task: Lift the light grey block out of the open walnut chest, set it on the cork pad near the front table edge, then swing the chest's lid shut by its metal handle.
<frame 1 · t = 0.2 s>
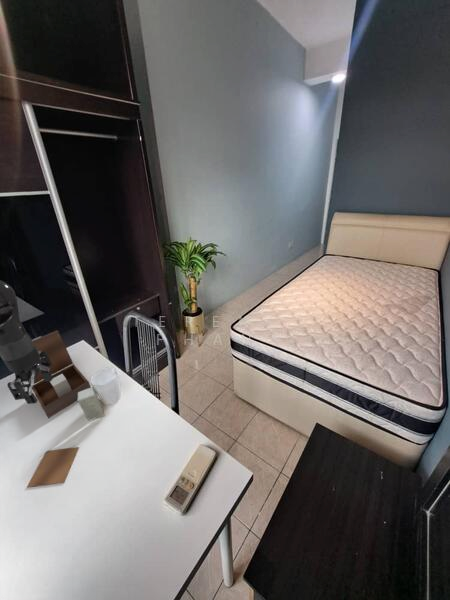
hand: (41, 391, 76), 18 cm above the table, tool pointing down, fingers open, 8 cm apart
lid: (42, 355, 97), point 14 cm above the table, hinge at 95.0°
box: (95, 414, 89), on the table, touching cup
light grey block: (65, 394, 97), point 1 cm above the table, touching chest
cup: (112, 399, 95), on the table, touching box
pad: (55, 466, 74), on the table
chest: (65, 394, 98), on the table
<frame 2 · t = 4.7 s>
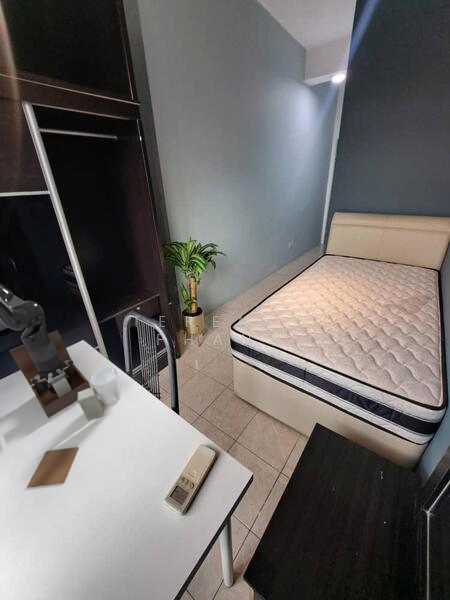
hand: (62, 388, 95), 4 cm above the table, tool pointing down, fingers closed on light grey block, 4 cm apart
light grey block: (65, 394, 97), point 1 cm above the table, touching chest, gripper
everything else where it was.
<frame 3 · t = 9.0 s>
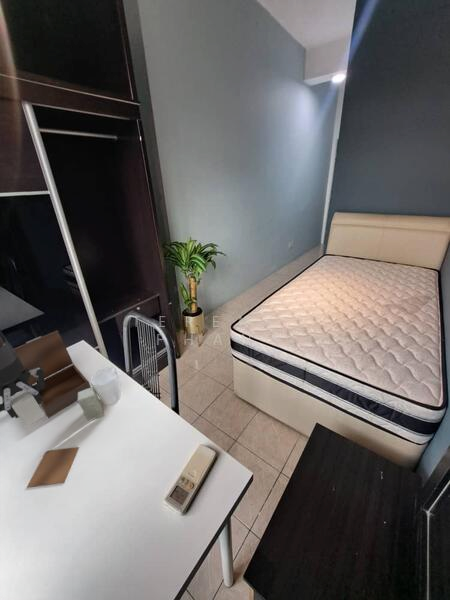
hand: (28, 409, 67), 21 cm above the table, tool pointing down, fingers closed on light grey block, 4 cm apart
light grey block: (33, 416, 68), point 18 cm above the table, touching gripper
everything else where it was.
when the fingers open (4 cm above the table, at t = 13.5 s): light grey block stays where it is, resting on pad.
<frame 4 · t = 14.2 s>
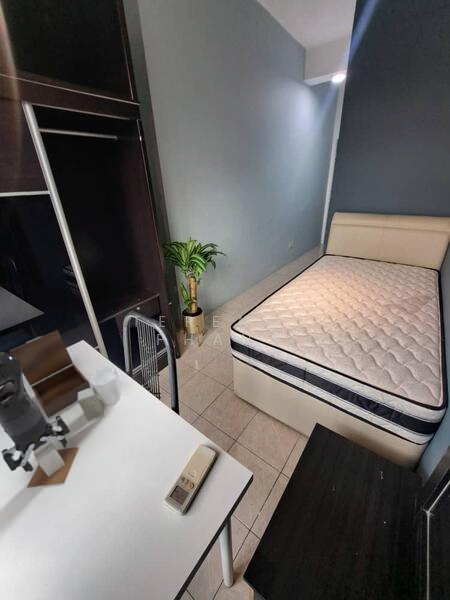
hand: (48, 456, 71), 5 cm above the table, tool pointing down, fingers open, 8 cm apart
light grey block: (54, 465, 74), resting on pad
everything else where it was.
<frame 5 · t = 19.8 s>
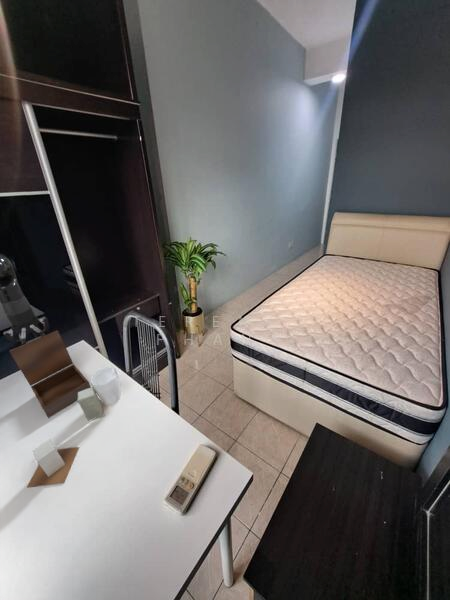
hand: (37, 346, 97), 18 cm above the table, tool pointing down, fingers closed on lid, 5 cm apart
lid: (42, 355, 97), point 14 cm above the table, hinge at 95.1°, touching gripper
everything else where it was.
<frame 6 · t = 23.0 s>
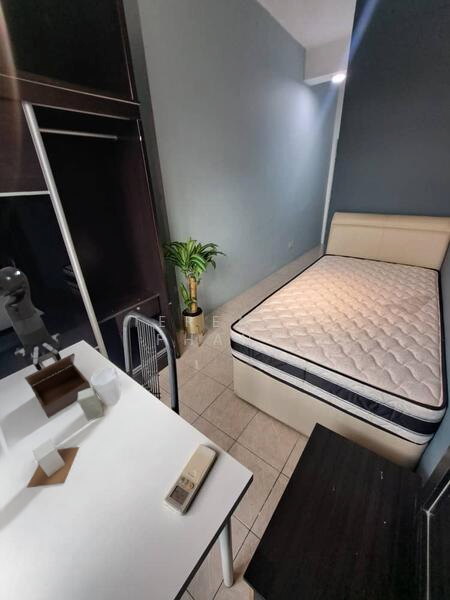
hand: (49, 365, 90), 16 cm above the table, tool pointing down, fingers closed on lid, 5 cm apart
lid: (49, 364, 93), point 14 cm above the table, hinge at 44.1°, touching gripper
everything else where it was.
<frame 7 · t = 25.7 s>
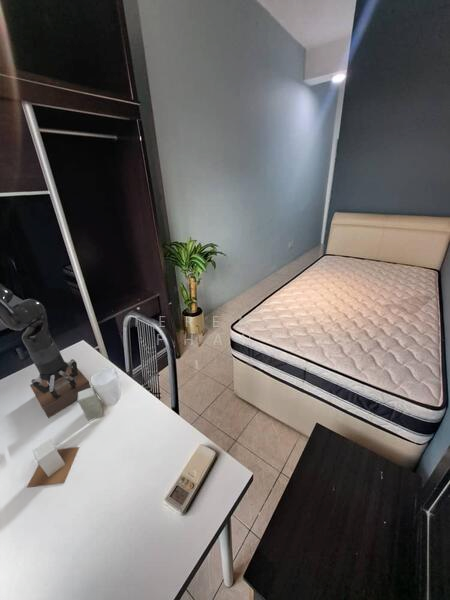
hand: (64, 391, 90), 7 cm above the table, tool pointing down, fingers closed on lid, 5 cm apart
lid: (57, 379, 93), point 8 cm above the table, hinge at -0.2°, touching chest, gripper
everything else where it was.
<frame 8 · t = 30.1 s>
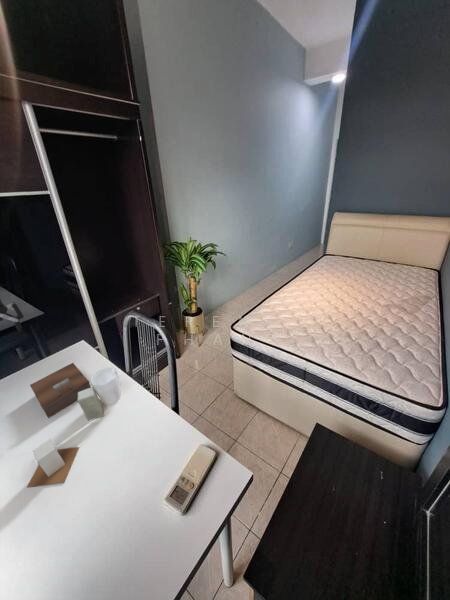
hand: (5, 335, 86), 28 cm above the table, tool pointing down, fingers open, 8 cm apart
lid: (57, 379, 93), point 8 cm above the table, hinge at -0.2°, touching chest
everything else where it was.
at the end: light grey block inside the target area on the pad (0.0 cm from its centre), point 0.4 cm above the pad's base; light grey block tilted 0°; lid at +0° (first picture: +95°) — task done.
